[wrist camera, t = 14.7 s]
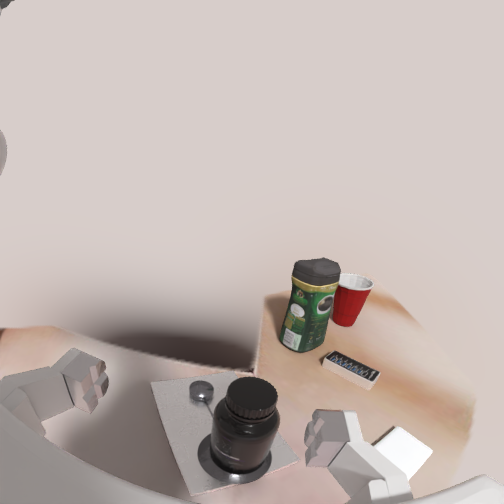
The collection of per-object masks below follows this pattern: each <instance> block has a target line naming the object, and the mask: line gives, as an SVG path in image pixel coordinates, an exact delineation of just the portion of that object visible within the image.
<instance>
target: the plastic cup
mask: <svg viewBox="0 0 504 504" xmlns="http://www.w3.org/2000/svg"><path fill="white" fill-rule="evenodd" d="M373 287H374V282H373V281H372V280H371V279H369V278H367V277H364V276H361V275H357V274H351V273H340V280H339V283H338V286H337V289H336V291H335V295H334V307H333V308H334V311H333V321H334V322H335V323H336V324H338V325H341V326H346V327H349V326H352V325H353V324H354V322H355V320H356V318H357V316H358V315H359V313H360V311H361V309H362V307H363V305H364V303H365V300H366V298H367V296H368V295H369V292H370V291H371V289H372V288H373Z"/></svg>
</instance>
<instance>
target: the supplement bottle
mask: <svg viewBox="0 0 504 504" xmlns="http://www.w3.org/2000/svg"><path fill="white" fill-rule="evenodd" d="M277 398H278V395H277V391H276V389H275V388H274V386H272V385H271V384H270V383H268V382H267V381H265V380H263V379H260V378H256V377H243V378H239V379H236V380H234V381H233V382H231V383H230V385H229V386H228V389H227V393H226V397H224V398H223V399H221V400H220V401H219V402H218V404H217V405H216V407H215V409H214V413H213V421H212V430H211V440H210V456H211V459H212V461H213V462H214V463H215V465H216V466H217V467H219V468H220V469H221V470H223V471H225V472H228V473H231V474H237V475H244V474H249V473H252V472H254V471H256V470H258V469H259V468H260V467H261V466H262V465H263V464H264V462H265V460H266V458H267V455H268V453H269V451H270V448H271V446H272V443H273V441H274V438H275V436H276V433H277V431H278V428H279V425H280V415H279V412H278V410H277V408H276V403H277V400H278V399H277Z"/></svg>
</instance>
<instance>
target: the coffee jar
mask: <svg viewBox="0 0 504 504" xmlns="http://www.w3.org/2000/svg"><path fill="white" fill-rule="evenodd" d="M340 272H341V269H340V267H339V265H338V263H337V262H334V261H331V260H329V259H326V258H321V259H312V260H299V261H298V262H296V263H295V265H294V269H293V273H292V292H291V297H290V301H289V304H288V308H287V312H286V316H285V319H284V322H283V325H282V329H281V333H280V341H281V342H282V343H283V344H284V345H285V346H286V347H287V348H289V349H290V350H294V351H297V352H300V353H302V352H307V351H310V350H313V349H315V348H317V347H318V346H320V345H321V344H322V343H323V342H324V338H325V334H326V330H327V324H328V320H329V315H330V311H331V306H332V301H333V298H334V294H335V291H336V289H337V286H338V283H339V280H340Z"/></svg>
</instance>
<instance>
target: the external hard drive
mask: <svg viewBox="0 0 504 504" xmlns="http://www.w3.org/2000/svg"><path fill="white" fill-rule="evenodd" d="M373 447H374V448H375V449H377V450H378V451H379V452H380V453H381V454H382V455H384V456H385V457H386V458H387V459H388V460H390V461H391V462H392V463H393V464H394V465H396V466H397V467H398V468H399V469H400V470H402V471H403V472H404V473H405V474H406V475H407V479H408V480H409V479H410V478H411V477H412V476H413V475H414V474H415V472H416V471H417V470H418V469H419V468H420V467H421V466H422V464H423V463H424V462H425V461H426V460H427V458H428V457H429V456H430V455H431V453H432V452H433V451H432V449H430V448H429V447H428V446H426V445H425V444H423V443H422V442H420V441H419V440H417V439H416V438H415V437H413V436H412V435H411V434H409V433H408V432H406V431H405V430H404V429H402V428H401V427H399V426H397V427H396V428H394V429H393V430H392V431H391V432H390V433H389V434H388V435H386V436H385V437H384V438H383V439H382V440H380V441H379V442H378V443H377V444H376V445H374V446H373Z"/></svg>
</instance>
